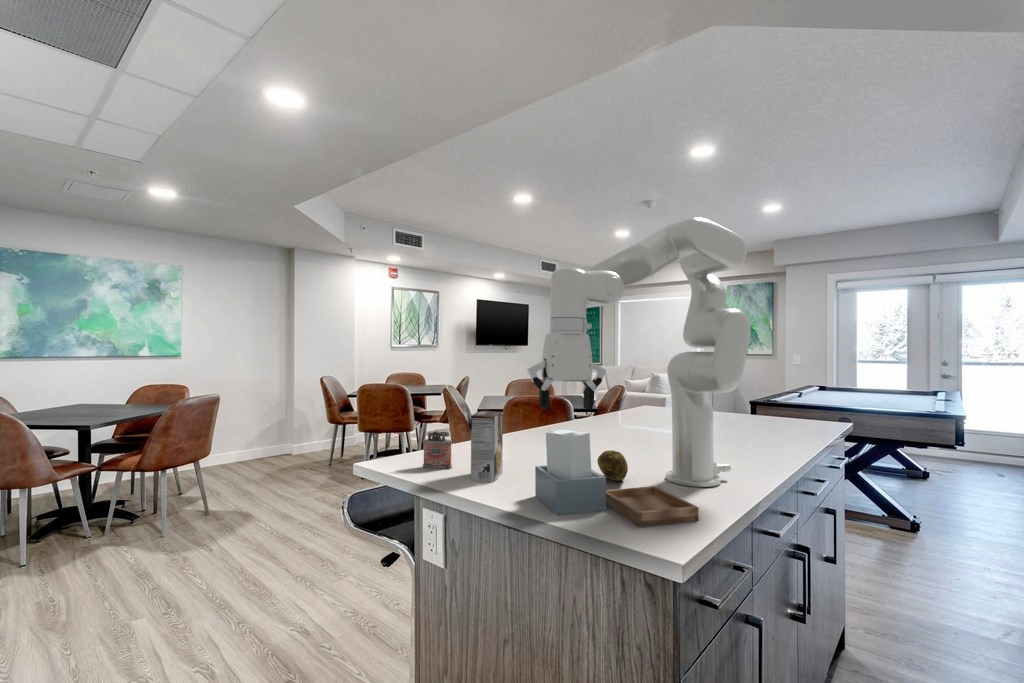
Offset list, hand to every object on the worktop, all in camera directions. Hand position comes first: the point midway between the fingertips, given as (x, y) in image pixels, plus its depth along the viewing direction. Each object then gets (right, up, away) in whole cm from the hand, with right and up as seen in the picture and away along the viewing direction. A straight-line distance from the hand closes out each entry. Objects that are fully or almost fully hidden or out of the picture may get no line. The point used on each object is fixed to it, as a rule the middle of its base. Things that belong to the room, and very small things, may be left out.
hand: (566, 409), depth 99 cm
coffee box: (-18, -20, +21) cm, 34 cm away
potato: (+13, -20, +17) cm, 30 cm away
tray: (+15, -19, -5) cm, 25 cm away
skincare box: (0, -20, 0) cm, 20 cm away
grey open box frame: (0, -20, 0) cm, 20 cm away
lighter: (-32, -21, +30) cm, 48 cm away
